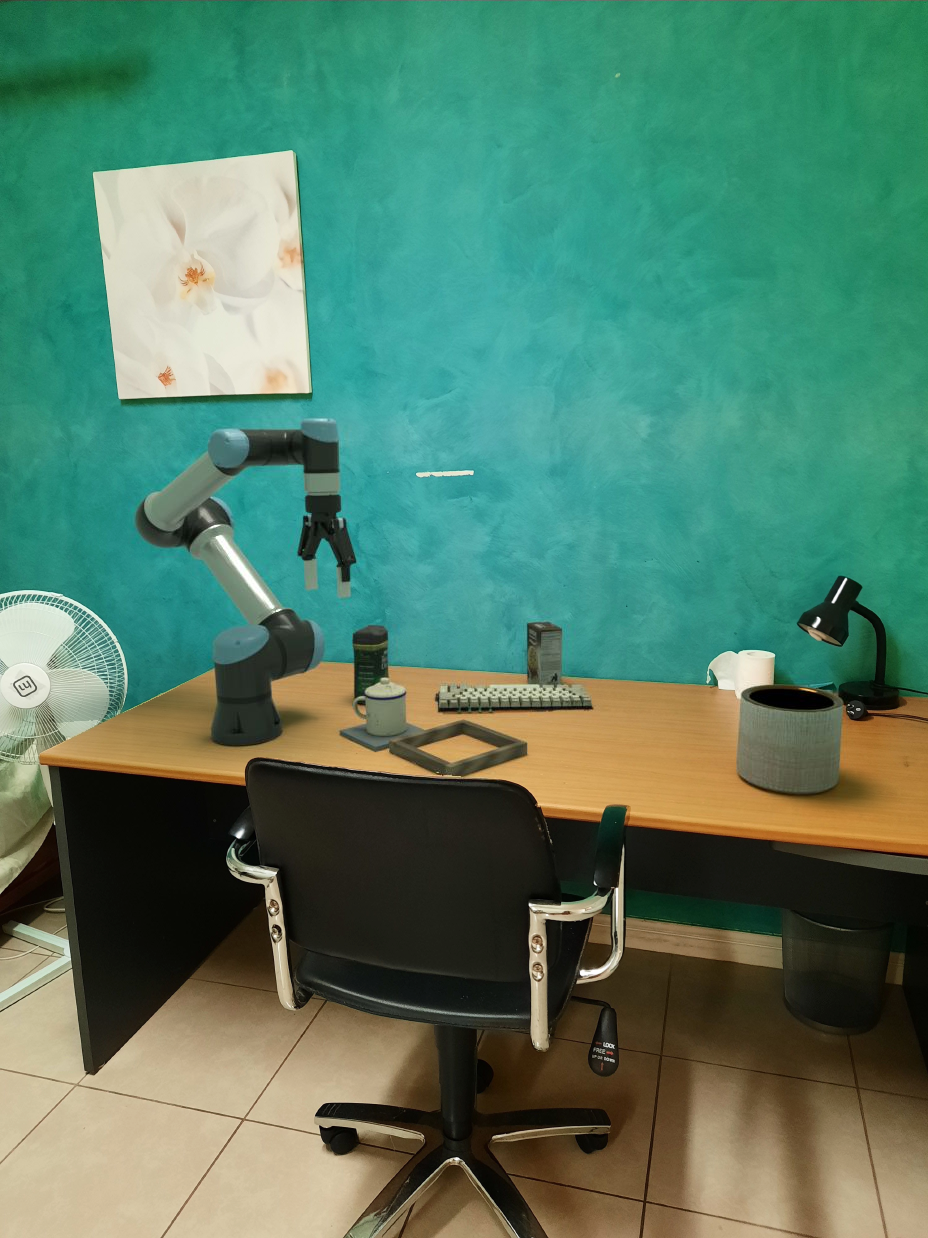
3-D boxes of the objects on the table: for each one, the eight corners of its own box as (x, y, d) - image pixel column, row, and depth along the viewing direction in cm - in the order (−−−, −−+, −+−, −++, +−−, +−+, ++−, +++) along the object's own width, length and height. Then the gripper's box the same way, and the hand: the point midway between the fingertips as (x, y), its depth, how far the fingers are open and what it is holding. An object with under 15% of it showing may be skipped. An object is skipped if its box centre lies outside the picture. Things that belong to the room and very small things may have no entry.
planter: (723, 784, 154) (727, 702, 151) (750, 754, 168) (754, 679, 165) (827, 805, 144) (833, 718, 141) (846, 772, 158) (852, 692, 155)
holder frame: (450, 779, 158) (450, 767, 157) (389, 751, 173) (388, 740, 172) (527, 754, 170) (527, 742, 170) (464, 730, 185) (463, 719, 185)
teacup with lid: (412, 725, 186) (411, 674, 184) (400, 738, 177) (398, 685, 175) (361, 721, 189) (359, 671, 187) (346, 735, 180) (344, 682, 178)
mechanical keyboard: (582, 690, 216) (582, 678, 215) (596, 714, 197) (596, 700, 197) (435, 694, 215) (434, 682, 214) (435, 718, 196) (434, 704, 196)
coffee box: (525, 682, 222) (525, 622, 219) (548, 680, 224) (548, 620, 221) (539, 691, 214) (539, 629, 210) (562, 689, 215) (563, 627, 212)
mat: (375, 751, 173) (375, 747, 173) (339, 734, 183) (339, 730, 183) (429, 736, 182) (429, 731, 182) (392, 721, 192) (392, 716, 192)
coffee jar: (380, 706, 203) (377, 631, 200) (350, 704, 205) (346, 630, 202) (394, 695, 212) (392, 623, 209) (365, 693, 214) (362, 622, 211)
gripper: (370, 494, 170) (374, 598, 174) (308, 491, 189) (313, 584, 193) (338, 496, 165) (343, 602, 169) (278, 492, 184) (284, 588, 188)
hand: (327, 593), depth 181 cm, fingers open, 13 cm apart
